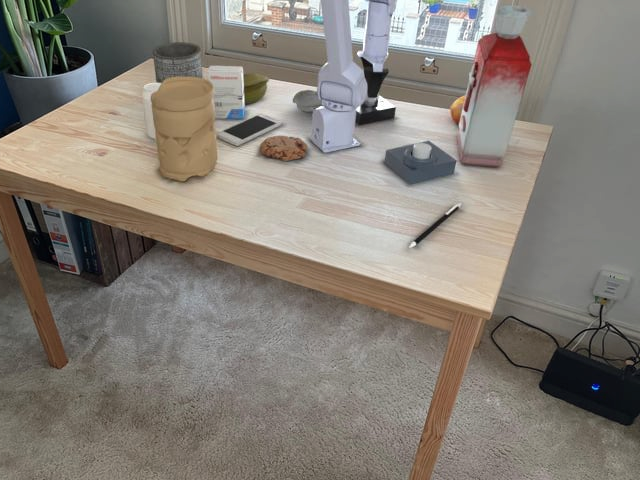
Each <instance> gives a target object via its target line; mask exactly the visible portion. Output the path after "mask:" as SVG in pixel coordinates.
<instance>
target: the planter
mask: <svg viewBox="0 0 640 480" xmlns="http://www.w3.org/2000/svg"><path fill="white" fill-rule="evenodd" d="M152 57H153V66H154V73H155V83H162V82H163V81H164V80H165V79H167V78H171V77H177V76H180V77H199V78H203V79H204V77H203V65H202V54H201V47H200V46H199V45H198V44H195V43H191V42H184V41H183V42H182V41H175V42H168V43H163V44H160V45H158V46H156V47H154V48H153V49H152Z"/></svg>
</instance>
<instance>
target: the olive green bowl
mask: <svg viewBox="0 0 640 480" xmlns="http://www.w3.org/2000/svg"><path fill="white" fill-rule="evenodd" d="M243 80H244V104H253V103H257V102H258V101H261V100H262V99H263V98H264V97H265V95H266V92H267V90H268V85H267V83H268V82H269V81H270V78H269V77H267V76H263V75H261V74H259V73H253V72H250V73H243Z"/></svg>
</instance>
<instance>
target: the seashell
mask: <svg viewBox="0 0 640 480" xmlns="http://www.w3.org/2000/svg"><path fill="white" fill-rule="evenodd" d="M292 103H293V104H296V106H297V109H298V110H300V111H301V112H304V113H313V111H314V110H315V109H317V108H320V107H321V106H323V105H322V100H320V99H319V97H318V94H317V90H316V91H315V90H313V89H305V90H300V91H298V92H297V93H296V94H295V95H294V96H293V98H292Z"/></svg>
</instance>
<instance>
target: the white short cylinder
mask: <svg viewBox="0 0 640 480" xmlns="http://www.w3.org/2000/svg"><path fill="white" fill-rule="evenodd" d="M416 143H417V144H415V143H414V144H415V145H414V147H413V152H412V156H413V157H414V158H418V159H428V158H430V154H431V149H432V147H431V146H430V145H428V144H425V143H420V142H416Z"/></svg>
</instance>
